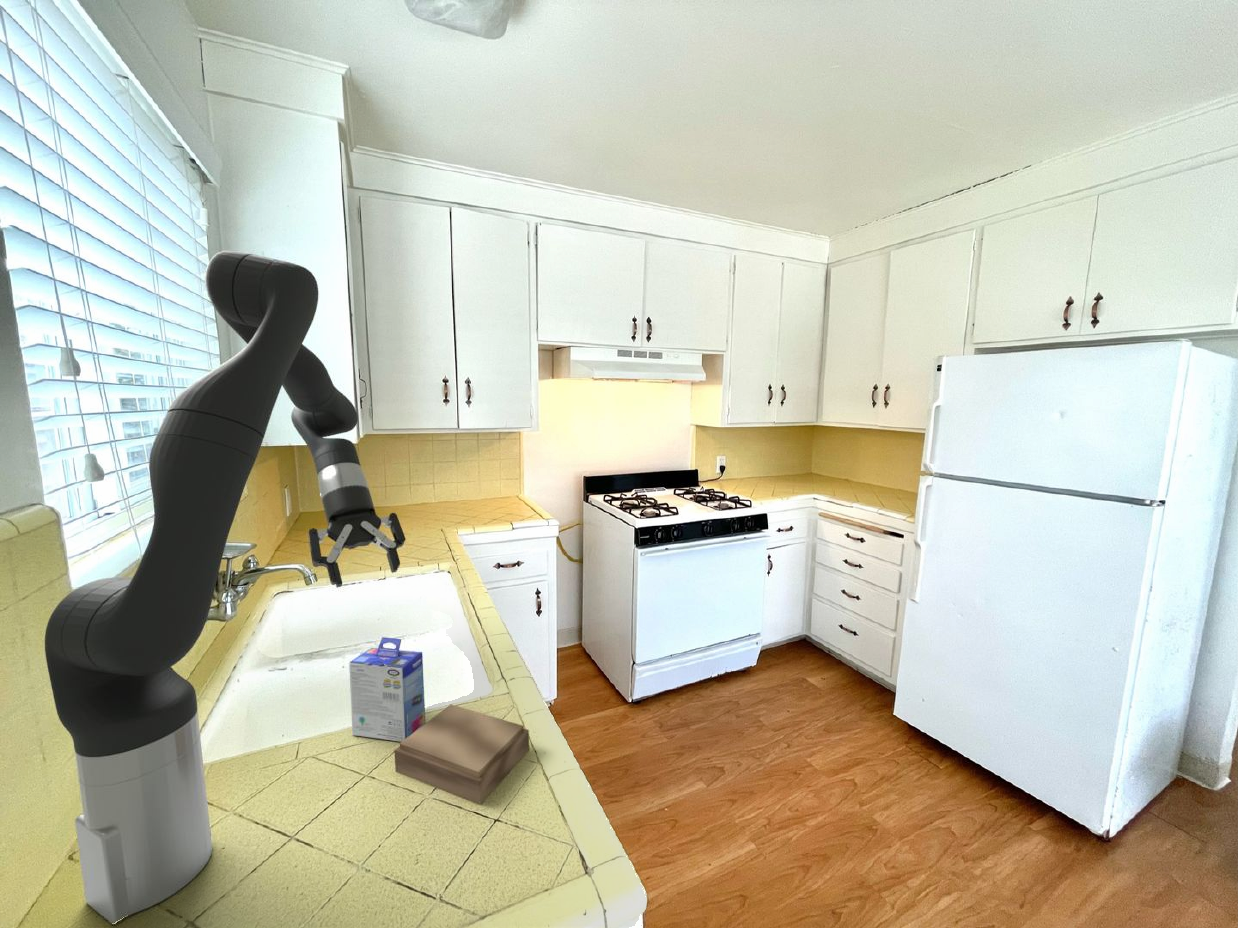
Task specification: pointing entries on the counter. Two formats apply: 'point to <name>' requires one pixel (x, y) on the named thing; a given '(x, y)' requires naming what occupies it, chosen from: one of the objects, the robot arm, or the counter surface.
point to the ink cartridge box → (387, 692)
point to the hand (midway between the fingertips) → (368, 578)
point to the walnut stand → (462, 752)
